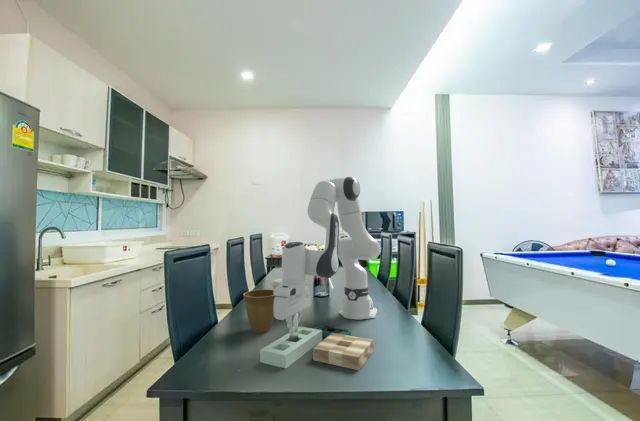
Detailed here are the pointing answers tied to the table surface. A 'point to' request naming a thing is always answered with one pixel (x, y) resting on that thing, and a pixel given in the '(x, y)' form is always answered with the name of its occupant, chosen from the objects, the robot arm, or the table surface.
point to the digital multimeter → (332, 330)
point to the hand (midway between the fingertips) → (293, 325)
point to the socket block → (344, 351)
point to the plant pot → (260, 309)
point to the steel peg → (294, 329)
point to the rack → (290, 348)
